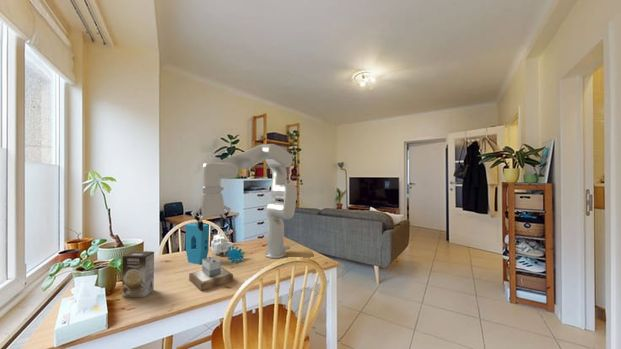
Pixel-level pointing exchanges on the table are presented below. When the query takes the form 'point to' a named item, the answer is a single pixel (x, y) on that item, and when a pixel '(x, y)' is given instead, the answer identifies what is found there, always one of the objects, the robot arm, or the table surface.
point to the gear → (235, 254)
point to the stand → (210, 279)
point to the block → (197, 243)
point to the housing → (211, 266)
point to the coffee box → (138, 274)
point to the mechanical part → (221, 243)
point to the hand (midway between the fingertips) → (211, 228)
